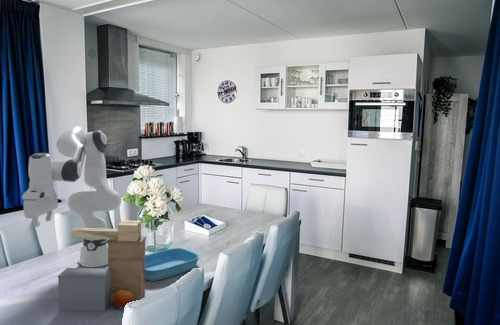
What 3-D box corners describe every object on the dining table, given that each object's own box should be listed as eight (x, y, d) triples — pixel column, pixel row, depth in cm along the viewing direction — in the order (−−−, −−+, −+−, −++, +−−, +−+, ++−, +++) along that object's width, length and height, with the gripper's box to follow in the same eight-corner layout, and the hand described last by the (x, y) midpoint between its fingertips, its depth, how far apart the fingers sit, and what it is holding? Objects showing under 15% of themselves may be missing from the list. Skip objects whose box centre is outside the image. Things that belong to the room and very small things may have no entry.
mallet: (76, 234, 159) (76, 219, 158) (140, 236, 160) (141, 220, 160) (69, 239, 152) (69, 223, 151) (136, 241, 153) (136, 225, 153)
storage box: (67, 300, 153) (67, 267, 151) (111, 301, 154) (111, 268, 152) (58, 310, 144) (57, 276, 143) (104, 311, 145) (104, 277, 144)
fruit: (105, 307, 146) (112, 286, 149) (116, 308, 153) (123, 289, 156) (121, 311, 143) (128, 290, 146) (132, 313, 150) (138, 293, 153)
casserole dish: (181, 256, 209) (181, 244, 209) (206, 267, 194) (207, 254, 194) (122, 273, 182) (122, 260, 181) (146, 288, 167) (146, 273, 166)
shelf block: (113, 291, 163) (113, 235, 160) (145, 292, 163) (146, 236, 161) (107, 299, 155) (107, 240, 152) (141, 299, 156) (141, 241, 153)
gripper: (46, 187, 163) (48, 217, 164) (19, 196, 143) (21, 230, 144) (61, 187, 163) (62, 217, 165) (36, 196, 143) (37, 230, 144)
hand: (42, 223), depth 154 cm, fingers open, 8 cm apart
